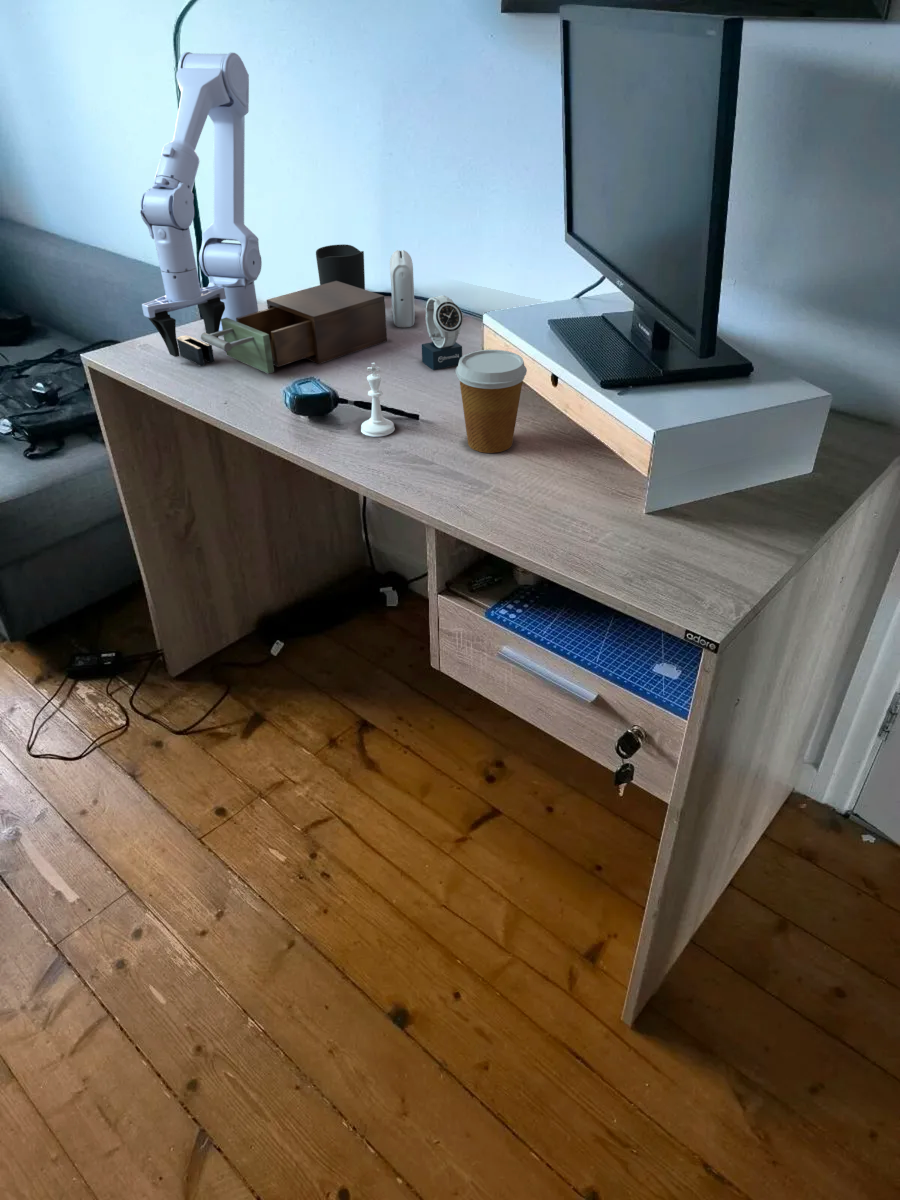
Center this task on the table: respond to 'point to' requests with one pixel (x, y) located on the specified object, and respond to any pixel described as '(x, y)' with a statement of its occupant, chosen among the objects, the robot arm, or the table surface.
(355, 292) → the cabinet
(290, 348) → the drawer
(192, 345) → the tongs
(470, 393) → the disposable coffee cup
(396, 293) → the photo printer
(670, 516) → the table surface
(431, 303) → the watch
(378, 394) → the chess piece
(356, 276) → the pen holder
